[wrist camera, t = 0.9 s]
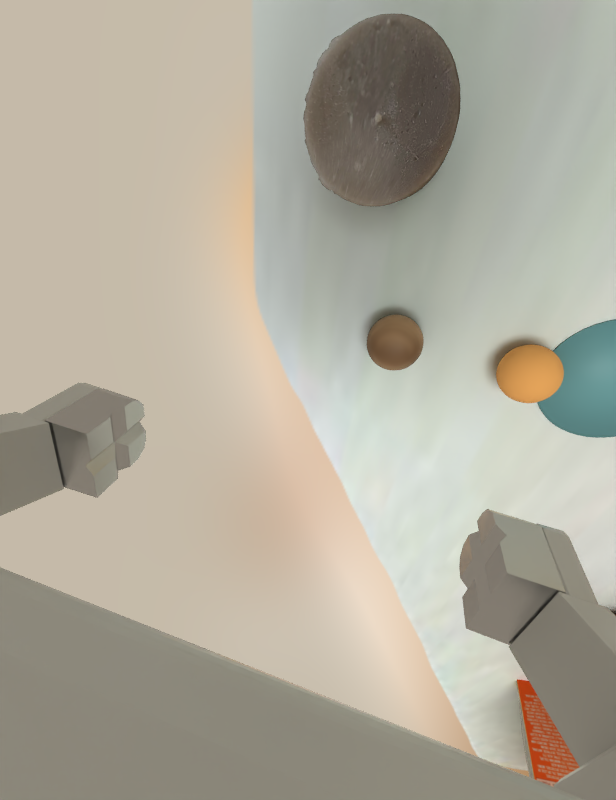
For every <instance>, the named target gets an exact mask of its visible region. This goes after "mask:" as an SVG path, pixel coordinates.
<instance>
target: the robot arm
mask: <svg viewBox="0 0 616 800" xmlns="http://www.w3.org/2000/svg"><path fill="white" fill-rule="evenodd" d="M143 417H144V407H143V404H142V403H141V402H140V401H138V400H136V399H132V398H129V397H127V396H124V395H121V394H118V393H115V392H112V391H109V390H105V389H101V388H99V387H96V386H93V385H90V384H87V383H78V384H75V385H74V386H72V387H70V388H68V389H66V390H65V391H63V392H61V393H59V394H57V395H55V396H54V397H52V398H50V399H48V400H46V401H45V402H43V403H41V404H39V405H37V406H36V407H34V408H32V409H30V410H28V411H26V412H25V413H23V414H21V413H17V412H14V413H8V414H4V415H0V516H1V515H3V514H6V513H8V512H11V511H13V510H15V509H18V508H20V507H22V506H25V505H27V504H29V503H32V502H34V501H36V500H39V499H41V498H43V497H46V496H48V495H51V494H53V493H55V492H57V491H60V490H62V489H64V487H66V488H69V489H72V490H75V491H78V492H81V493H85V494H87V495H91V496H94V497H98V496H99V495H101V494H102V493H103V492H104V491H105V490H106V489H107V488H108V487H109V486H110V485H111V484H112V483H113V482H114V481H116V480H117V479H118V470H121V469H124V468H127V467H130V466H131V465H132V464H133V463H134V462H135V461H136V460H137V459H138V458H139V456H140V454H141V453H142V451H143V449H144V446H145V441H146V431H145V429H144V428H143V427H142V425H141V423H140V422H139V421H140V420H141V419H142V418H143ZM477 522H478V528H479V531H478V532H475V533H473V534H470V535H469V536H468V538H467V539H466V541H465V543H464V545H463V548H462V552H461V556H460V578H461V579H462V581H463V582H464V584H465V585H466V587H467V588H468V590H467V591H466V593H465V594H464V596H463V597H462V598H463V606H464V615H465V624H466V628H467V629H469V630H472V631H475V632H477V633H480V634H482V635H485V636H488V637H490V638H493V639H495V640H498V641H501V642H503V643H506V644H508V645H510V646H509V648H510V650H511V651H512V653H513V655H514V656H515V658H516V660H517V662H518V663H519V665H520V667H521V668H522V670H523V672H524V673H525V675H526V677H527V679H528V680H529V682H530V684H531V685H532V687H533V689H534V690H535V692H536V694H537V695H538V697H539V699H540V701H541V702H542V704H543V706H544V707H545V709H546V711H547V712H548V714H549V716H550V717H551V719H552V721H553V723H554V724H555V726H556V728H557V729H558V731H559V733H560V734H561V736H562V738H563V740H564V741H565V743H566V745H567V746H568V748H569V750H570V751H571V753H572V755H573V756H574V758H575V760H576V762H577V763H578V765H579V768H577V769H576V770H574V771H572V772H571V773H569V774H567V775H566V776H564V777H563V778H561V779H560V780H559V781H558V782H557V783H556V784H555V785H554V787H552V786H550V785H547V784H545V783H542V782H540V781H537V780H535V779H532V778H530V777H527V776H524V775H522V774H519V773H517V772H514V771H512V770H509V769H507V768H504V767H502V766H499V765H497V764H494V763H492V762H489V761H487V760H484V759H482V758H479V757H477V756H474V755H471V754H469V753H466V752H464V751H461V750H459V749H456V748H454V747H451V746H448V745H446V744H444V743H441V742H439V741H436V740H434V739H431V738H429V737H426V736H424V735H421V734H418V733H416V732H413V731H411V730H408V729H406V728H403V727H401V726H398V725H396V724H393V723H391V722H388V721H386V720H383V719H380V718H378V717H376V716H373V715H370V714H368V713H366V712H363V711H360V710H358V709H356V708H353V707H350V706H348V705H346V704H343V703H341V702H338V701H335V700H333V699H330V698H328V697H325V696H323V695H320V694H318V693H315V692H313V691H310V690H308V689H305V688H303V687H300V686H298V685H295V684H293V683H290V682H288V681H285V680H283V679H280V678H278V677H275V676H272V675H270V674H267V673H265V672H263V671H260V670H258V669H255V668H252V667H250V666H248V665H245V664H243V663H240V662H237V661H235V660H232V659H230V658H227V657H225V656H222V655H220V654H217V653H215V652H212V651H210V650H207V649H205V648H202V647H199V646H197V645H195V644H192V643H189V642H187V641H184V640H182V639H179V638H177V637H174V636H172V635H169V634H166V633H164V632H161V631H159V630H157V629H154V628H151V627H149V626H146V625H144V624H141V623H139V622H136V621H134V620H131V619H129V618H126V617H124V616H121V615H119V614H116V613H113V612H111V611H108V610H106V609H104V608H101V607H99V606H96V605H94V604H91V603H89V602H86V601H83V600H81V599H78V598H76V597H73V596H71V595H68V594H66V593H63V592H61V591H58V590H56V589H53V588H51V587H48V586H46V585H43V584H41V583H38V582H35V581H33V580H30V579H28V578H25V577H23V576H20V575H18V574H15V573H13V572H10V571H8V570H5V569H3V568H0V800H616V616H615V615H614V614H613V613H612V612H611V611H610V610H609V609H608V608H607V607H604V606H601V605H599V604H598V602H597V600H596V598H595V595H594V593H593V591H592V589H591V586H590V584H589V582H588V579H587V577H586V575H585V573H584V570H583V568H582V566H581V564H580V561H579V559H578V557H577V554H576V552H575V550H574V548H573V545H572V543H571V541H570V539H569V537H568V535H567V534H566V533H565V532H564V531H561V530H558V529H554V528H551V527H547V526H544V525H540V524H534V523H531V522H528V521H525V520H521V519H518V518H515V517H512V516H508V515H505V514H502V513H499V512H495V511H492V510H489V509H487V510H486V511H485V512H483V513H482V515H481V516H480V518H479V519H478V521H477Z"/></svg>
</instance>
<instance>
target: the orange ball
mask: <svg viewBox="0 0 616 800" xmlns="http://www.w3.org/2000/svg"><path fill="white" fill-rule="evenodd" d="M496 377H497V382H498V385H499V387H500V389H501V390H502V391H503V392H504V393H505V395H507V396H508V397H510V398H511V399H513V400H515V401H519V402H523V403H535V402H539V401H543V400H545V399H547V398H549V397H550V396H552V395H553V394H554V393H555V392H556V391H557V390H558V389H559V387H560V386H561V384H562V381H563V377H564V369H563V365H562V362H561V360H560V359H559V357H558V356H557V355H556V354H555V353H554V352H553V351H551V350H550V349H548V348H546V347H543V346H539V345H523V346H519V347H517V348H514V349H512V350H511V351H509V352H508V353H507V354H506V355H505V356H504V357H503V358H502V359H501V361H500V363H499V364H498V367H497V372H496Z"/></svg>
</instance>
